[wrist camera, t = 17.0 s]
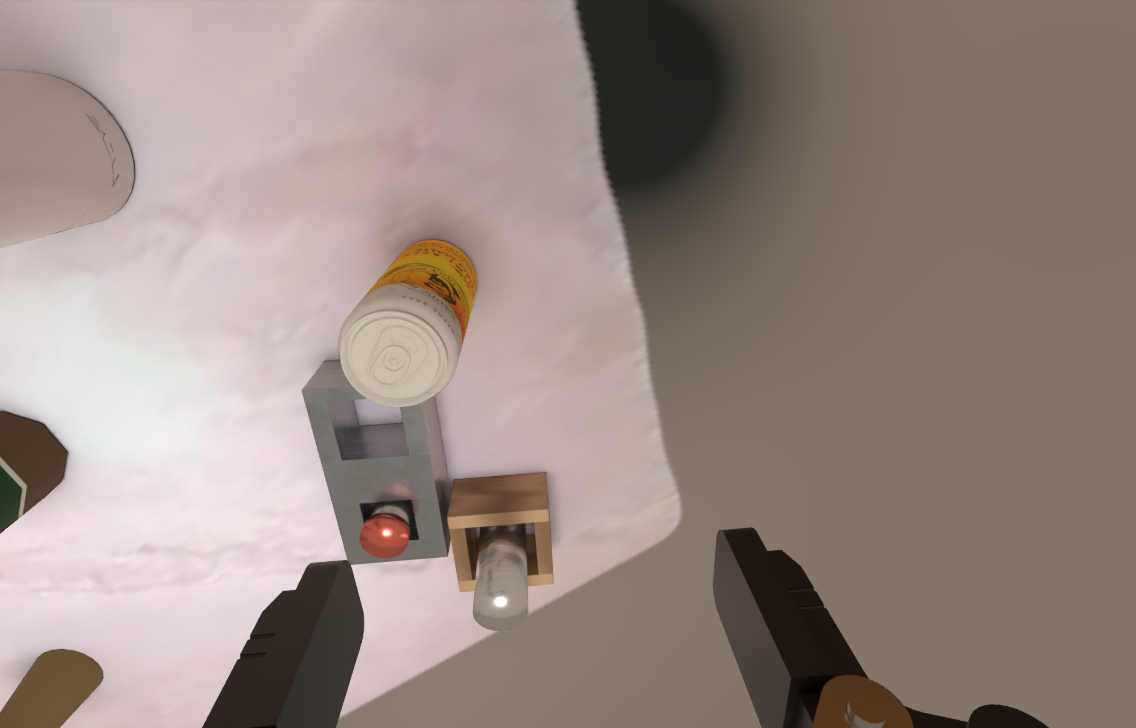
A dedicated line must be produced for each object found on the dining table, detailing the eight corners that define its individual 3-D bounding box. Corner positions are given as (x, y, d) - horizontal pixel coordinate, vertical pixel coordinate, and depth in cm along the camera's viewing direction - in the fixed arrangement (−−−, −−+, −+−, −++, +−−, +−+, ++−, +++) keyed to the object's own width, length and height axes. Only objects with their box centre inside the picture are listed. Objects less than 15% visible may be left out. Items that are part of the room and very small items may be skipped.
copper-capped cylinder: (382, 509, 49) (364, 560, 44) (374, 475, 48) (355, 523, 42) (424, 506, 49) (411, 556, 44) (417, 472, 48) (403, 519, 42)
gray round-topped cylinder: (483, 531, 52) (475, 633, 42) (479, 496, 50) (470, 593, 41) (527, 527, 52) (529, 628, 42) (524, 492, 51) (526, 588, 41)
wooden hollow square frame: (465, 550, 53) (459, 592, 48) (454, 479, 50) (447, 517, 45) (551, 543, 53) (553, 584, 49) (546, 472, 50) (548, 509, 45)
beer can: (493, 267, 42) (478, 345, 29) (451, 331, 44) (418, 432, 30) (420, 220, 40) (366, 279, 27) (379, 289, 42) (310, 376, 29)
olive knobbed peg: (37, 642, 54) (-73, 764, 44) (107, 658, 55) (15, 779, 46) (32, 683, 56) (-74, 808, 46) (99, 697, 58) (10, 821, 48)
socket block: (364, 523, 51) (348, 564, 46) (324, 361, 44) (301, 390, 40) (454, 516, 51) (447, 556, 47) (428, 353, 45) (417, 382, 40)
